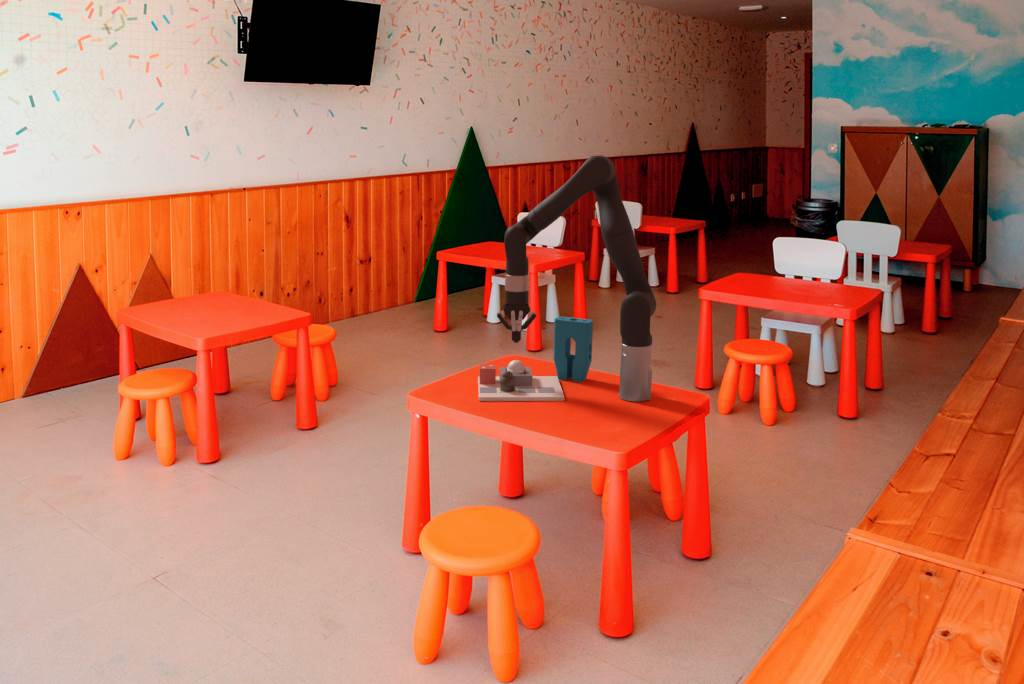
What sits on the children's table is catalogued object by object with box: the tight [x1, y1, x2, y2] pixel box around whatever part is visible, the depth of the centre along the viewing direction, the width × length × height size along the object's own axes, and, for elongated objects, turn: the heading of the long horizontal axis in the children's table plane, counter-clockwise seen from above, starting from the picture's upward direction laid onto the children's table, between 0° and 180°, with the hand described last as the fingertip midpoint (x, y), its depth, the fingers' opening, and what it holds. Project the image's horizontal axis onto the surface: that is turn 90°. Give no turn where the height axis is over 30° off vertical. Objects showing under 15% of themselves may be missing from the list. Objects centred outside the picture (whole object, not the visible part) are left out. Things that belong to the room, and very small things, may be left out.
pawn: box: [500, 371, 515, 392], centre depth 281 cm, size 4×4×6 cm
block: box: [553, 316, 594, 383], centre depth 296 cm, size 12×5×20 cm, turn 66°
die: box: [479, 364, 497, 384], centre depth 289 cm, size 5×5×5 cm
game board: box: [477, 375, 565, 402], centre depth 286 cm, size 26×22×1 cm
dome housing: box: [498, 366, 533, 386], centre depth 290 cm, size 10×10×4 cm
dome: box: [506, 359, 525, 374], centre depth 289 cm, size 6×6×5 cm
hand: (516, 342), depth 287 cm, fingers closed
